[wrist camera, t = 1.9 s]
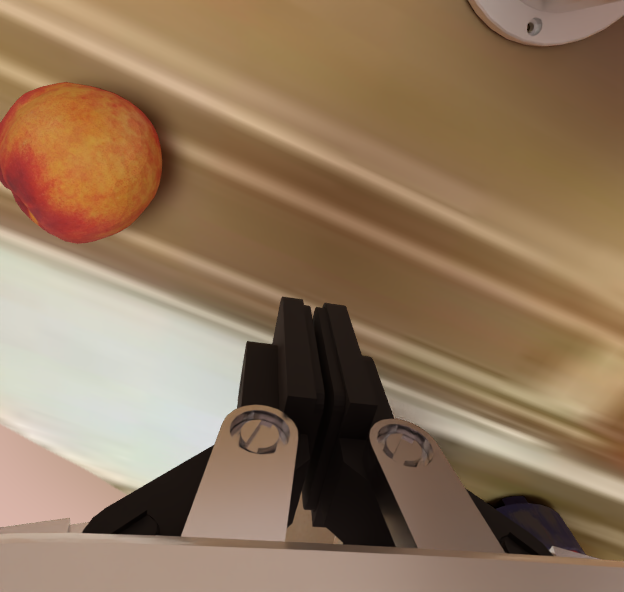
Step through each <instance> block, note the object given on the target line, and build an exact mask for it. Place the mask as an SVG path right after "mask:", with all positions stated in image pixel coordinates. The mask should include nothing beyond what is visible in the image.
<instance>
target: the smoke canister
mask: <svg viewBox="0 0 624 592" xmlns="http://www.w3.org/2000/svg"><path fill="white" fill-rule="evenodd" d="M502 500H503V502H504V504H505V506H502V507H500V508H497V509H496V510H497V511H499V512H500V513H502V514H503V515H505V516H506V517H507V518H509V519H510V520H512V521H513V522H515V523H516V524H518V525H519V526H520V527H522V528H523V529H525V530H526V531H528V532H529V533H531V534H532V535H533V536H534V537H536V538H537V539H538V540H539V541H540V542H542V543H543V544H544V545H545V546H546V548H547V549H548V550H550V549H551V547H552V546H555V547H558V548H562V549H565V550H569V551H573V552H576V553H580V554H583V555H586V554H585V553H584V551H583V550H582V548H581V547H580V545H579V544H578V542H577V541H576V539H575V538H574V536H573V535H572V533H571V531H570V530H569V528H568V527H567V525H566V524H565V522H564V521H563V519H562V518H561V517H560V515H559V514H558V513H557V512H555V511H554V510H553V509H551V508H549V507H546V506H543V505H539V504H531V503H528V502H527V501H526V499H525V497H524V496H511V497H506V498H503V499H502Z"/></svg>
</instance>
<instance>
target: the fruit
mask: <svg viewBox="0 0 624 592" xmlns="http://www.w3.org/2000/svg"><path fill="white" fill-rule="evenodd" d="M161 173H162V153H161V147H160V142H159V138H158V135H157V133H156V131H155V129H154V126H153V125H152V123H151V122H150V120H149V119H148V118H147V117H146V116H145V114H144V113H143V112H142V111H141V110H140V109H139V108H137V107H136V106H135V105H134V104H132V103H131V102H129V101H128V100H126V99H124V98H122V97H120V96H118V95H117V94H115V93H112V92H109V91H106V90H103V89H99V88H96V87H92V86H86V85H80V84H74V83H68V82H64V83H57V84H52V85H48V86H43V87H40V88H37V89H34V90H32V91H29V92H27V93H25V94H24V95H22V96H21V97H20V98H19V99H18V100H17V101H16V102H15V103H14V105H13V106H12V107H11V108H10V110H9V111H8V113H7V114H6V115H5V117H4V118H3V120H2V121H1V123H0V181H1V182H2V184H3V185H4V186H5V187H6V188H8V189H10V190H11V191H12V193H13V196H14V198H15V201H16V202H17V204H18V205H19V207H20V208H21V210H22V211H23V212H24V213H25V214H26V215H27V216H28V217H29V218H30V219H31V220H32V221H33V222H35V223H36V224H37V225H39V226H40V227H41V228H43V229H44V230H45V231H47V232H48V233H50V234H52V235H54V236H56V237H58V238H60V239H62V240H64V241H67V242H72V243H77V244H78V243H88V242H93V241H97V240H99V239H102V238H105V237H108V236H111V235H113V234H116V233H118V232H120V231H122V230H123V229H125V228H127V227H128V226H130V225H131V224H132V223H133V222H134V221H135V220H136V219H137V218H138V217H139V216H140V215H141V213H142V212H143V211H144V210H145V209H146V207H147V206H148V205H149V204H150V202H151V201H152V199H153V198H154V197H155V194H156V192H157V189H158V186H159V184H160V178H161Z"/></svg>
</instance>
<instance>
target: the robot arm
mask: <svg viewBox="0 0 624 592" xmlns="http://www.w3.org/2000/svg"><path fill="white" fill-rule="evenodd" d="M468 1H469V3H470V5H471V6H472V8H473V9H474V11H475V13H476V14H477V15H478V16H479V17H480V18H481V19H482V20H483V21H484V22H485V23H486V24H487V25H488V26H489V27H490V29H492V30H494V31H495V32H497V33H498V34H500V35H502V36H503V37H505V38H506V39H508V40H512V41H515V42H518V43H521V44H524V45H532V46H553V45H563V44H567V43H571V42H575V41H579V40H583V39H585V38H587V37H590V36H592V35H594V34H596V33H598V32H600V31H602V30H604V29H606V28H607V27H609V26H610V25H612V24H613V23H614V22H616V21H617V20H619V19H620V18H622V17H623V16H624V0H468ZM528 24H529V25H530V30H529V32H527V25H528ZM301 492H302V502H303V509H304V510H311V516H312V527H324V528H327V529H328V530H329V531H331V532H332V533H333V534H334V535H335V537H334V542H333V544H325V543H306V542H285V537H286V530H287V528H288V527H289V526H290V525H291V524H292V523H293V520H294V516H295V513H296V509H297V506H298V503H299V499H300V495H301ZM0 592H624V561H613V560H601V559H598V558H594V557H590V556H587V555H583V554H580V553H576V552H573V551H569V550H565V549H562V548H558V547H555V546H552V547H551V549H550V550H548V549H547V548H546V546H545V545H544V544H543V543H542V542H540V541H539V540H538V539H537V538H536V537H534V536H533V535H532V534H531V533H529V532H528V531H526V530H525V529H523V528H522V527H520V526H519V525H518V524H516V523H515V522H513V521H512V520H510V519H509V518H507V517H506V516H505V515H503V514H502V513H500V512H499V511H497V510H496V509H494V508H493V507H492V506H490V505H489V504H487V503H486V502H484V501H483V500H481V499H480V498H479V497H477V496H476V495H474V494H473V493H471V492H470V491H468V490H467V489H466V488H464V486H463V484H462V483H461V481H460V480H459V478H458V476H457V475H456V473H455V472H454V470H453V468H452V467H451V465H450V464H449V462H448V460H447V459H446V457H445V456H444V454H443V452H442V451H441V449H440V448H439V446H438V444H437V443H436V442H435V440H434V439H433V438H432V437H431V436H430V435H429V434H428V433H427V432H426V431H424V430H423V429H422V428H420V427H418V426H416V425H414V424H412V423H410V422H407V421H404V420H399V419H394V417H393V414H392V411H391V409H390V406H389V403H388V400H387V397H386V395H385V392H384V389H383V386H382V383H381V381H380V378H379V375H378V372H377V369H376V367H375V364H374V361H373V359H372V358H371V357H368V356H362V355H361V351H360V348H359V345H358V342H357V339H356V336H355V333H354V330H353V327H352V323H351V320H350V317H349V314H348V311H347V308H346V306H344V305H337V304H330V303H324V305H323V307H322V308H320V307H316V308H315V311H314V315H313V320H312V314H311V308H310V306H306V305H304V303H303V300H302V299H295V298H288V297H282V298H281V302H280V307H279V312H278V317H277V322H276V328H275V333H274V338H273V343H272V344H265V343H257V342H249V341H247V343H246V349H245V355H244V361H243V367H242V374H241V381H240V388H239V396H238V405H237V409H235V410H234V411H232V412H231V413H230V414H228V415H227V416H226V418H225V420H224V421H223V423H222V425H221V428H220V431H219V434H218V436H217V439H216V442H215V444H214V445H213V446H211V447H209V448H208V449H206V450H204V451H203V452H201V453H199V454H197V455H196V456H194V457H192V458H191V459H189V460H187V461H185V462H184V463H182V464H180V465H179V466H177V467H175V468H173V469H172V470H170V471H168V472H167V473H165V474H163V475H161V476H160V477H158V478H156V479H155V480H153V481H151V482H149V483H148V484H146V485H144V486H143V487H141V488H139V489H137V490H136V491H134V492H132V493H131V494H129V495H127V496H125V497H124V498H122V499H120V500H119V501H117V502H115V503H114V504H112V505H110V506H108V507H107V508H105V509H104V510H103V511H101V512H100V513H99V514H97V515H96V516H95V517H93V518H92V520H91V521H90V522H87V523H80V524H73V525H70V518H66V519H58V520H51V521H44V522H36V523H29V524H22V525H15V526H8V527H1V528H0Z"/></svg>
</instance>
